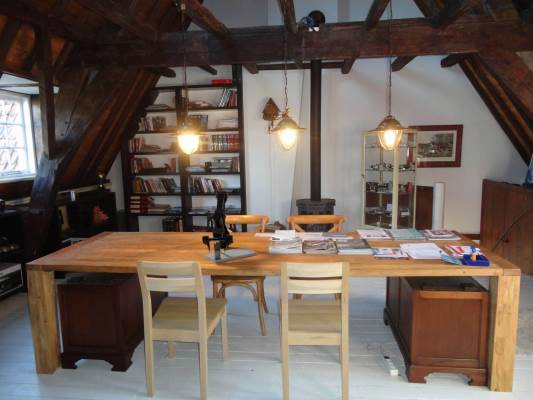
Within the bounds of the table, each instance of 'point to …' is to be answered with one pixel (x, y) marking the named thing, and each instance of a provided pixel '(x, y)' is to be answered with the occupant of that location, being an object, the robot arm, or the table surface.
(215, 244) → the awl peg
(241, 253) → the subfloor panel
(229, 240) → the robot arm
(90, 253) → the table surface
